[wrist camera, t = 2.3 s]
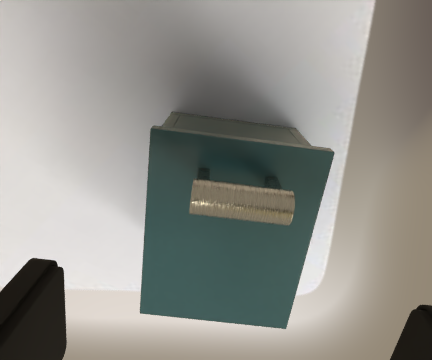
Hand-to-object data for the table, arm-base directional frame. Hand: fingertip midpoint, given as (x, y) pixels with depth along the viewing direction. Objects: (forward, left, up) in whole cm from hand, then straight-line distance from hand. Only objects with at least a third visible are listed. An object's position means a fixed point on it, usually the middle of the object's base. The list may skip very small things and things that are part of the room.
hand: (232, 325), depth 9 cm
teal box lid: (+5, +1, -12) cm, 13 cm away
